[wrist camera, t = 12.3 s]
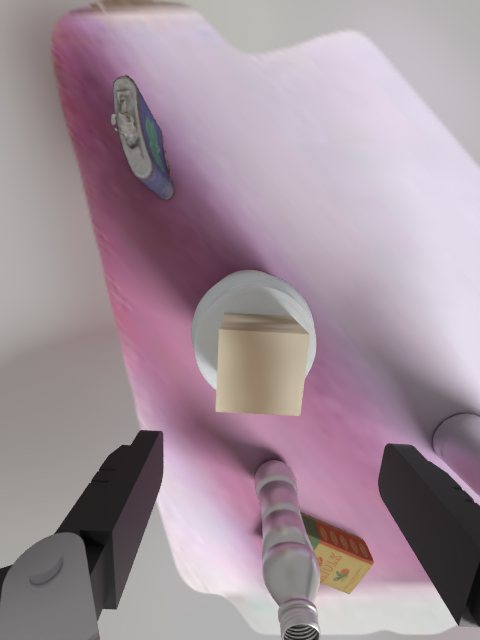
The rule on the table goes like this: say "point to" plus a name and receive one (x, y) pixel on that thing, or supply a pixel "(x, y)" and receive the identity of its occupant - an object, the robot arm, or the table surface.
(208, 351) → the supplement tub
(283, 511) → the plastic bottle
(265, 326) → the beech cube
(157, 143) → the flask
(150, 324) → the table surface
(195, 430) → the table surface
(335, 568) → the carton
